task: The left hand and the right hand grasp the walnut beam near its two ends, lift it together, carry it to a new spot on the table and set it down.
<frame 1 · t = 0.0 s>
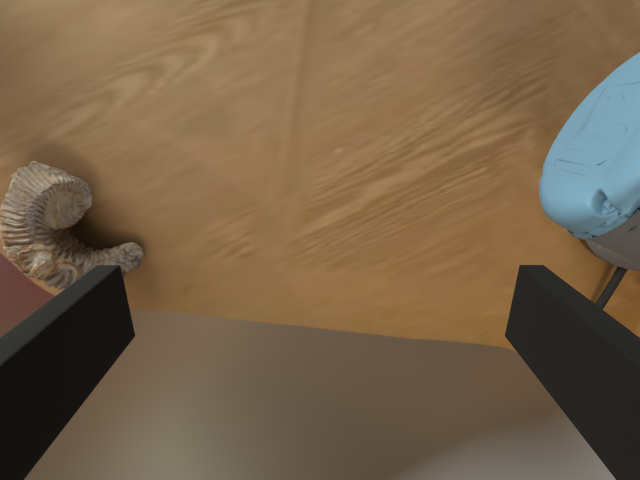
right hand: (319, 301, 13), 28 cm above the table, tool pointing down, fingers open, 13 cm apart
seashell: (87, 217, 41), on the table
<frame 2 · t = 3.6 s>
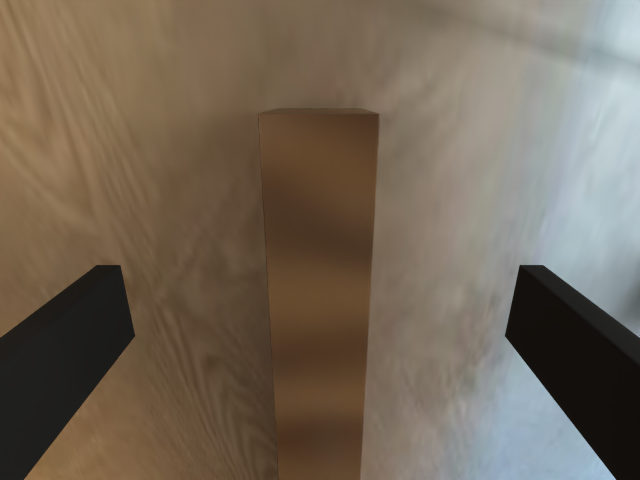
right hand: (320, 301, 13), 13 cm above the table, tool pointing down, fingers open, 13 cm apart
beam: (319, 432, 32), on the table, touching left hand
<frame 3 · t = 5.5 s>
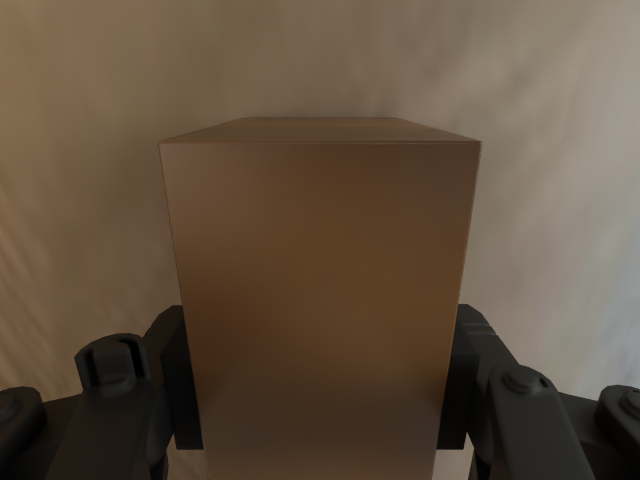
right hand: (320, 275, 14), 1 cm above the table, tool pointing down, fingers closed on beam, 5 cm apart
when the left hand's fingers open (2 cm above the table, at t = 12.6 s): beam drops 2 cm, on the table.
when the right hand's fingers open (2 cm above the table, at t = 12.6 s): beam drops 2 cm, on the table.
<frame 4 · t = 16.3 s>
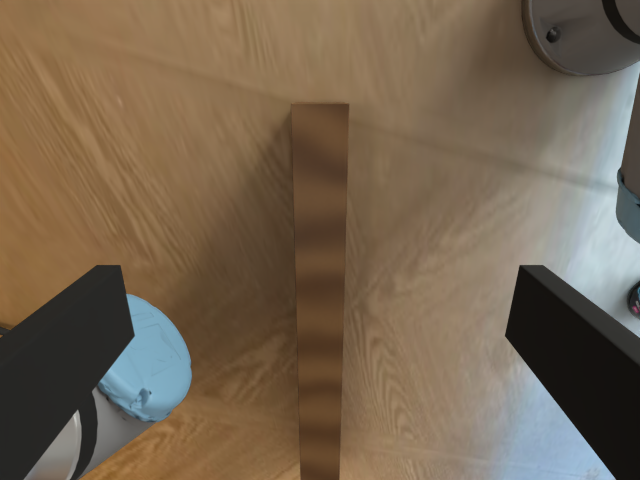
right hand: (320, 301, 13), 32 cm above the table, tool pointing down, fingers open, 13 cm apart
beam: (320, 312, 50), on the table
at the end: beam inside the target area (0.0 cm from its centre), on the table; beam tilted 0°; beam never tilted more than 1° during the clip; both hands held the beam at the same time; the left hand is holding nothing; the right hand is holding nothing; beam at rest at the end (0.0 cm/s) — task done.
